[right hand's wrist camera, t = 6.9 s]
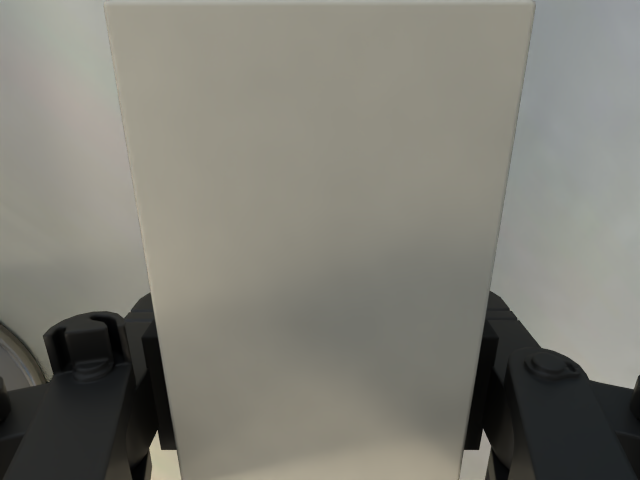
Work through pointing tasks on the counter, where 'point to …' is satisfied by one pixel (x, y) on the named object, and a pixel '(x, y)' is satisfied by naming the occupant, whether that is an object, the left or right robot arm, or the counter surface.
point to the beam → (319, 222)
